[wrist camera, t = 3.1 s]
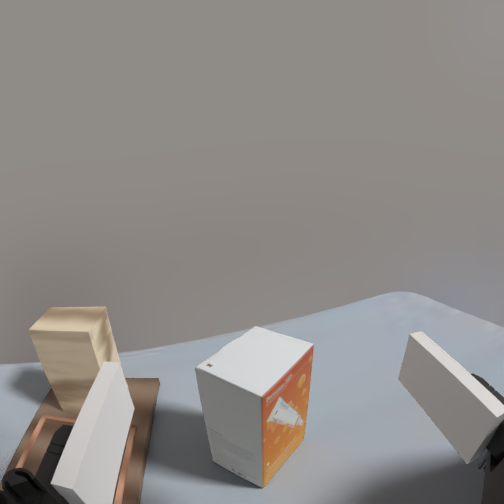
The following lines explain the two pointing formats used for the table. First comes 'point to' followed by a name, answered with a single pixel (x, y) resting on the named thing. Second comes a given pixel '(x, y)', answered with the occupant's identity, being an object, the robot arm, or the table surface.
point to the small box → (256, 402)
